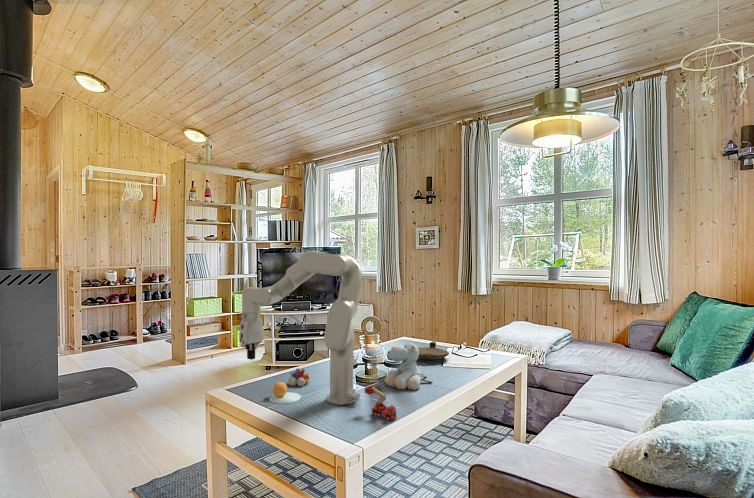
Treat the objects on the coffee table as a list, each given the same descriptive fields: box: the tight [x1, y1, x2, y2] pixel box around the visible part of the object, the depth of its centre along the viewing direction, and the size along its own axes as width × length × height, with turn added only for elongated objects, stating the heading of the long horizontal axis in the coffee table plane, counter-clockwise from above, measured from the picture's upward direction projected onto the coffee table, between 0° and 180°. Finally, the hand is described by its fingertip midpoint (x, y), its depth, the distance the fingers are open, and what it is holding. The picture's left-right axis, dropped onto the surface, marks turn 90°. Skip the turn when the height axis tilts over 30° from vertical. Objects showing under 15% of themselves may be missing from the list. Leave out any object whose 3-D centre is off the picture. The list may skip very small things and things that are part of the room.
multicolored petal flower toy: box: [287, 367, 311, 387], centre depth 192 cm, size 8×10×7 cm
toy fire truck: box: [364, 385, 397, 421], centre depth 156 cm, size 3×14×10 cm, turn 48°
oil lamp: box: [417, 339, 450, 361], centre depth 238 cm, size 22×30×8 cm
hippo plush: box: [384, 342, 434, 391], centre depth 192 cm, size 18×23×18 cm
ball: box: [272, 381, 288, 397], centre depth 175 cm, size 6×6×6 cm
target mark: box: [268, 391, 302, 405], centre depth 173 cm, size 13×13×1 cm
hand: (251, 358), depth 178 cm, fingers closed
